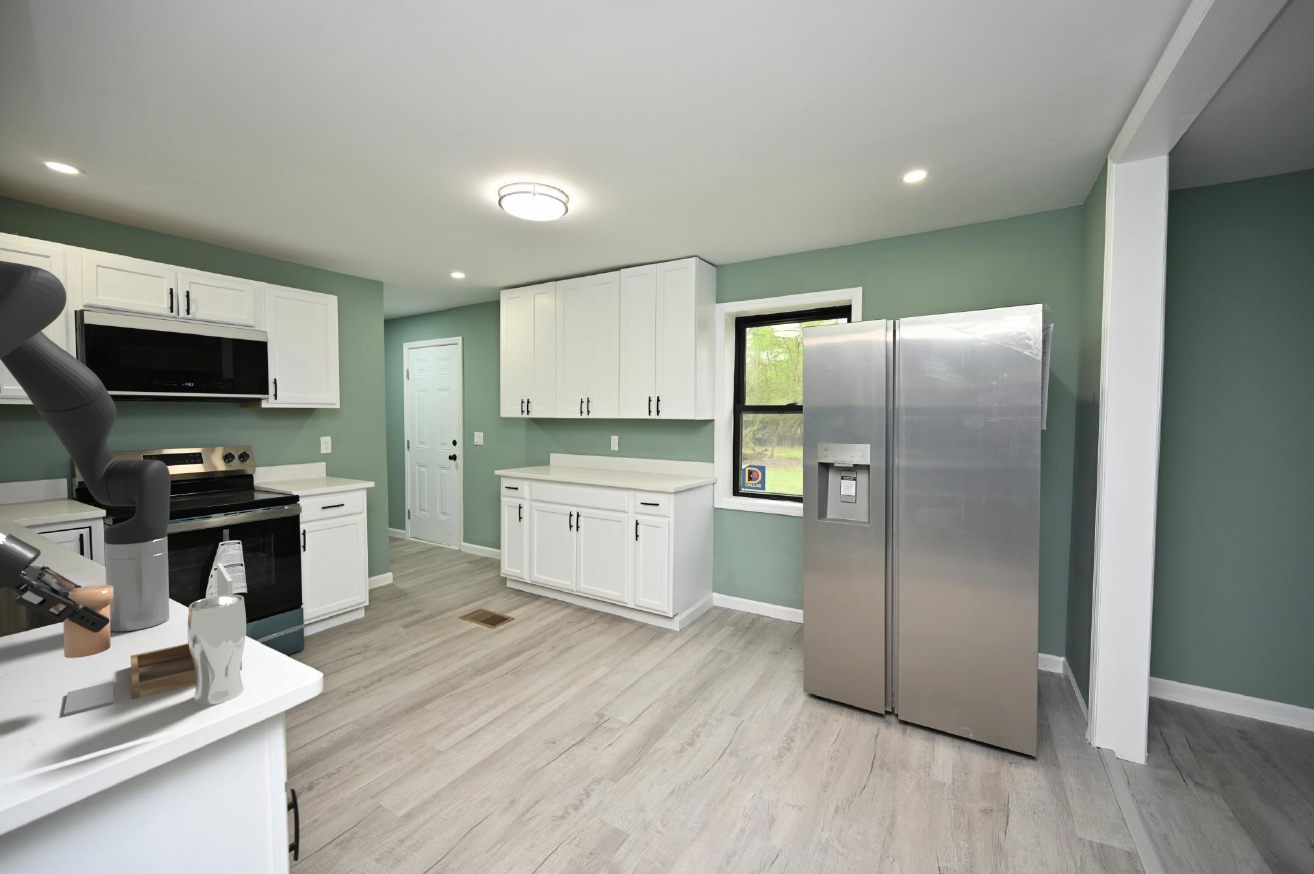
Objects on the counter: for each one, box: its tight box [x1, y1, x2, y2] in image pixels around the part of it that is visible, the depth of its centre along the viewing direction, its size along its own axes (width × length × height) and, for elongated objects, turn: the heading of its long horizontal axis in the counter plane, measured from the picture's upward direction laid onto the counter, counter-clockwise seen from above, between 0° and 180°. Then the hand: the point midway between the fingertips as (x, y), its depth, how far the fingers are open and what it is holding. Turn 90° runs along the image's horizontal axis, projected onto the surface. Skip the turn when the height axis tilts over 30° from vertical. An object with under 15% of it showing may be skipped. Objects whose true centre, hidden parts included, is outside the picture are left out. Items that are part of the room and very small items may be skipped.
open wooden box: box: [130, 642, 243, 700], centre depth 92 cm, size 14×13×12 cm
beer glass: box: [187, 594, 247, 707], centre depth 84 cm, size 7×7×15 cm
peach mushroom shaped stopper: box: [59, 584, 113, 659], centre depth 82 cm, size 6×6×9 cm
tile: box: [63, 681, 115, 717], centre depth 83 cm, size 8×5×1 cm, turn 44°
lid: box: [216, 562, 234, 596], centre depth 96 cm, size 14×1×9 cm, turn 44°
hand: (104, 620), depth 83 cm, fingers closed on peach mushroom shaped stopper, 5 cm apart
